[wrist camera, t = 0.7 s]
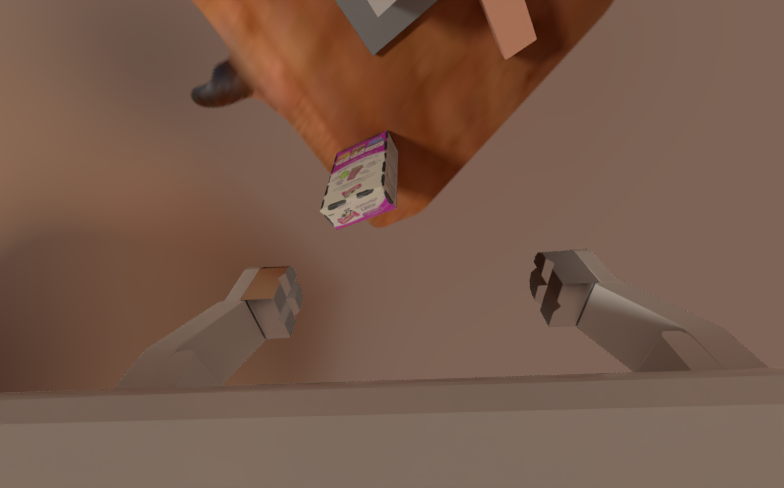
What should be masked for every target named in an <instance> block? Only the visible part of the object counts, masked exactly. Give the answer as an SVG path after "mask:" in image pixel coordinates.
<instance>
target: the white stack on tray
mask: <svg viewBox="0 0 784 488" xmlns="http://www.w3.org/2000/svg"><path fill="white" fill-rule="evenodd" d="M335 1H336V2H337V4H338V5H339V7H340V8H341V10H342V11H343V13H344V14H345V16H346V17H347V19H348V20H349V22H350V23H351V25H352V26H353V27H354V29H355V30H356V32H357V33H358V35H359V36H360V38H361V39H362V41H363V42H364V44H365V45H366V47H367V48H368V50H369V51H370V53H371V54H372V56H373V55H375V54H376V53H377V52H378V51H379V50H380V49H382V48H383V47H384V46H385V45H386V44H387V43H389V42H390V41H391V40H392V39H393V38H394V37H396V36H397V35H398V34H399V33H400V32H401V31H403V30H404V29H405V28H406V27H407V26H408V25H410V24H411V23H412V22H413V21H414V20H415V19H417V18H418V17H419V16H420V15H421V14H422V13H424V12H425V11H426V10H427V9H428V8H429V7H431V6H432V5H433V4H434V3H435V2H436V1H438V0H335Z"/></svg>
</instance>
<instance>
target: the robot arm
mask: <svg viewBox="0 0 784 488" xmlns="http://www.w3.org/2000/svg"><path fill="white" fill-rule="evenodd" d="M534 263H535V265H536V267H537V268H535V269H534V270H533V271H532V272H531V275H530V290H531V293H532V296H533V298H534V300H535V301H537V302H538V303H540V304H541V309H540V311H541V313H542V315H543V317H544V319H545V321H546V323H547V324H548V326H549V327H560V326H577V328H578V329H579V330H581V331H582V332H583V333H584V334H586V335H587V336H588V337H589V338H591V339H592V340H593V341H595V342H596V343H597V344H598V345H600V346H601V347H602V348H604V349H605V350H606V351H607V352H609V353H610V354H611V355H613V356H614V357H615V358H617V359H618V360H619V361H620V362H622V363H623V364H624V365H625V366H627V367H628V368H629V369H631V370H632V371H633V372H629V373H628V372H627V373H598V374H597V373H596V374H565V375H537V376H536V375H535V376H505V377H479V378H477V377H475V378H447V379H446V378H444V379H413V380H381V381H350V382H321V383H290V384H259V385H227V386H221V385H222V384H223V383H224V382H225V381H226V380H227V379H228V378H229V377H230V376H231V375H232V374H233V373H234V372H235V371H236V370H237V369H238V368H239V367H240V366H241V365H242V364H243V363H244V362H245V361H246V360H247V359H248V358H249V357H250V356H251V355H252V354H253V353H254V352H255V351H256V350H257V349H258V348H259V347H260V346H261V345H262V344H263V342H264V341H265V339H276V338H289V337H291V334H292V332H293V329H294V326H295V323H296V320H295V317H294V316H295V315H296V314H297V313H298V312H299V311H300V309H301V305H302V289H301V287H300V284H298V283H297V282H296V281H294V280H295V277H296V273H295V270H294V268H293V267H291V266H277V267H276V266H273V267H253V268H252V267H251V268H247V269H245V270H244V272H243V273H242V275H241V277H240V278H239V280H238V281H237V282H236V284H235V286H234V287H233V289H232V290H231V292H230V293H229V295H228V296H227V298H226V299H225V301H224V302H218V303H217V304H215V305H214V306H212V307H211V308H209V309H208V310H206V311H205V312H203V313H201V314H200V315H198V316H197V317H195V318H194V319H192V320H191V321H189V322H188V323H186V324H184V325H183V326H181V327H180V328H178V329H177V330H175V331H174V332H172V333H171V334H169V335H167V336H166V337H164V338H163V339H161V340H160V341H158V342H157V343H155V344H154V345H152V346H151V347H149V348H147V349H146V350H144V351H143V353H142V354H141V355H140V356H139V358H138V359H137V360H136V361H135V363H134V364H133V365H132V366H131V368H130V369H129V370H128V371H127V372H126V374H125V375H124V376H123V377H122V379H121V380H120V381H119V382H118V384H117V385H116V386H115V387H114V389H106V390H76V391H50V392H49V391H46V392H16V393H0V488H784V368H768V367H767V366H766V365H765V364H764V363H763V362H762V361H761V360H760V359H758V358H757V357H756V356H755V355H754V354H753V353H752V352H751V351H749V350H748V349H747V348H746V347H745V346H744V345H743V344H742V343H741V342H740V341H738V340H737V339H736V338H735V337H734V336H733V335H732V334H731V333H729V332H728V331H727V330H726V329H725V328H723V327H721V326H719V325H717V324H715V323H713V322H711V321H708V320H706V319H704V318H702V317H700V316H698V315H695V314H693V313H691V312H689V311H687V310H685V309H683V308H681V307H678V306H676V305H674V304H672V303H670V302H668V301H665V300H663V299H661V298H659V297H657V296H654V295H652V294H650V293H648V292H646V291H644V290H642V289H639V288H637V287H635V286H633V285H631V284H629V283H627V282H619V281H618V280H617V279H616V278H615V276H613V274H612V273H611V272H610V271H609V270H608V269H607V268H606V267H605V265H604V264H603V263H602V262H601V261H600V260H599V259H598V258H597V257H596V256H595V255H594V253H593V252H592V251H591V250H589V249H587V248H586V249H573V250H566V251H550V252H538V253H537V254H536V256H535V260H534Z"/></svg>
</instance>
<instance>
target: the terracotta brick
mask: <svg viewBox="0 0 784 488" xmlns="http://www.w3.org/2000/svg"><path fill="white" fill-rule="evenodd" d="M479 2H480V4H481V7H482V9H483V12H484V14H485V17H486V19H487V22H488V24H489V27H490V29H491V31H492V34H493V36H494V39H495V41H496V44H497V46H498V49H499V51H500V52H501V54H502V55H503V57H504V58H505V60H507V59H508V58H510V57H511V56H513V55H514V54H516V53H517V52H519V51H520V50H522V49H523V48H525V47H526V46H528V45H529V44H531V43H532V42H534V41H535V40H537V38H536V35H535V31H534V28H533V25H532V22H531V19H530V16H529V12H528V9H527V6H526V3H525V0H479Z"/></svg>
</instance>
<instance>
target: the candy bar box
mask: <svg viewBox="0 0 784 488" xmlns="http://www.w3.org/2000/svg"><path fill="white" fill-rule="evenodd" d="M397 175H398V150H397V148H396V146H395V144H394V142H393V140H392V138H391V136H390V134H389V132H388V131H384V132H382V133H380V134H378V135H376V136H374V137H372V138H370V139H367V140H365V141H363V142H361V143H359V144H357V145H354V146H352V147H350V148H348V149H346V150H344V151H341V152H339V153H337V154H336V158H335V161H334V164H333V168H332V171H331V175H330V179H329V182H328V185H327V189H326V192H325V196H324V199H323V202H322V206H321V210H320V212H321V213H322V214H323V215H324V216H325V217H326V218H327V219H328V220H329V222H330V223H332V225H333V227H335V228H336V229H337V230H339V229H341V228H344V227H347V226H350V225H352V224H355V223H358V222H361V221H363V220H366V219H369V218H372V217H375V216H378V215H380V214H383V213H386V212H389V211H392V210H394V209H396V206H397Z"/></svg>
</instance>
